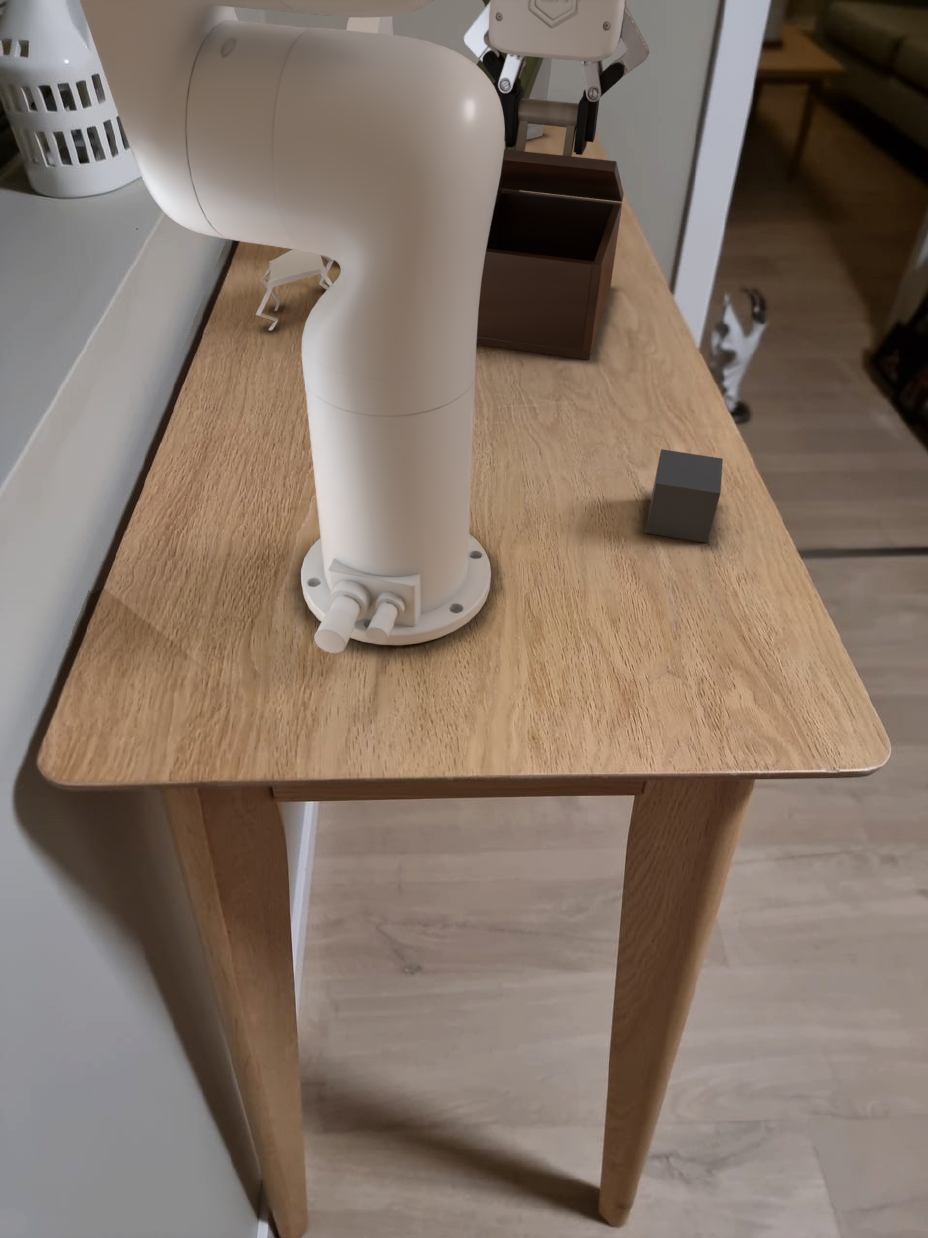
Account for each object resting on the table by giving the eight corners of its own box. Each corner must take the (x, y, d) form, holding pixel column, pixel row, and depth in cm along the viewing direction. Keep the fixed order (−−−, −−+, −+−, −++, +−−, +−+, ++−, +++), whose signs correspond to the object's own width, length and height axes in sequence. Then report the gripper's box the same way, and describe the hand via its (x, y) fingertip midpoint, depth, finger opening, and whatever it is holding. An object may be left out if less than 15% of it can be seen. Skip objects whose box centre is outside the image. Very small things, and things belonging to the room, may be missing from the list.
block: (707, 543, 66) (720, 493, 63) (645, 533, 67) (655, 483, 64) (710, 507, 69) (722, 458, 66) (651, 498, 70) (661, 448, 67)
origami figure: (341, 338, 87) (337, 287, 83) (253, 333, 87) (246, 282, 84) (360, 283, 95) (357, 235, 92) (280, 279, 96) (275, 231, 92)
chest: (589, 360, 85) (601, 265, 79) (456, 341, 87) (458, 248, 81) (610, 289, 96) (622, 202, 90) (492, 274, 98) (496, 187, 92)
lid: (614, 171, 74) (626, 101, 73) (463, 155, 76) (471, 86, 75) (622, 201, 90) (632, 144, 88) (495, 187, 92) (503, 130, 90)
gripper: (441, -134, 64) (437, 148, 76) (688, -119, 62) (643, 170, 74) (466, -140, 70) (459, 124, 82) (694, -126, 67) (651, 145, 79)
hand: (546, 144), depth 78 cm, fingers closed on lid, 5 cm apart
